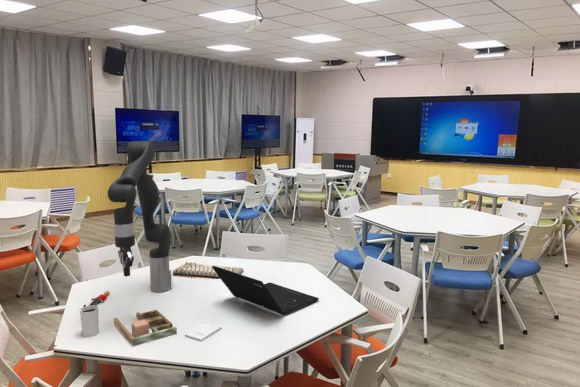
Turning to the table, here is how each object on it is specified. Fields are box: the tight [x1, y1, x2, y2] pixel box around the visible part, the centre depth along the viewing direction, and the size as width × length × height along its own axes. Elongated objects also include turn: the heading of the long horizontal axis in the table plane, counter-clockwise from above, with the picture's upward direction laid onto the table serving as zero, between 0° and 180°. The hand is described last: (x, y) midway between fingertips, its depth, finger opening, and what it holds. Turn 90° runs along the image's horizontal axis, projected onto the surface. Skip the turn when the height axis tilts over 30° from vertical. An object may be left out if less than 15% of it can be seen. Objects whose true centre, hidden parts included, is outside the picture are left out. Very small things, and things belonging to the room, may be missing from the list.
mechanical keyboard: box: [171, 261, 244, 280], centre depth 244 cm, size 38×19×3 cm, turn 80°
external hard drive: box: [184, 321, 222, 342], centre depth 172 cm, size 2×8×12 cm
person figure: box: [82, 290, 111, 308], centre depth 202 cm, size 5×4×18 cm
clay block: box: [131, 320, 150, 338], centre depth 169 cm, size 5×5×5 cm
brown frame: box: [113, 309, 178, 347], centre depth 175 cm, size 17×23×2 cm
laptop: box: [213, 265, 319, 316], centre depth 201 cm, size 33×38×19 cm
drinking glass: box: [79, 305, 100, 338], centre depth 170 cm, size 7×7×10 cm
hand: (126, 275), depth 178 cm, fingers closed
